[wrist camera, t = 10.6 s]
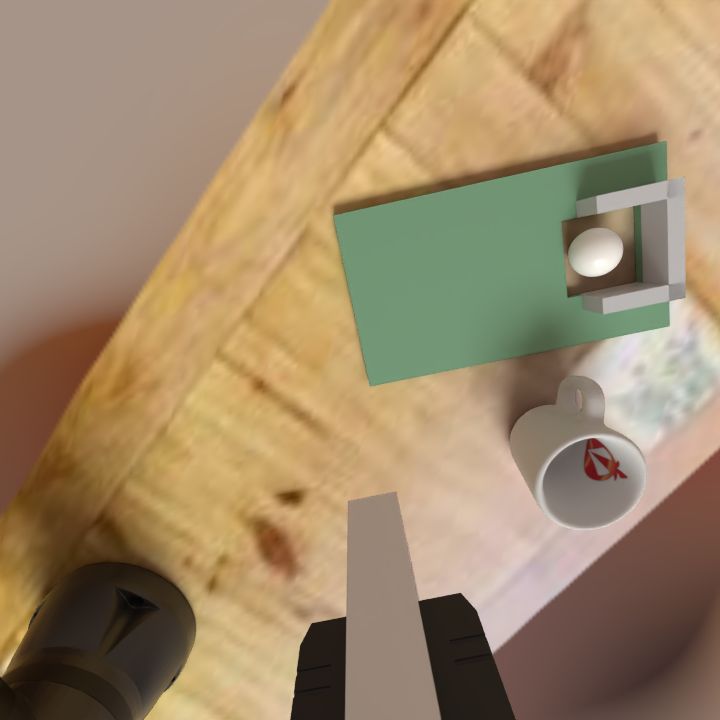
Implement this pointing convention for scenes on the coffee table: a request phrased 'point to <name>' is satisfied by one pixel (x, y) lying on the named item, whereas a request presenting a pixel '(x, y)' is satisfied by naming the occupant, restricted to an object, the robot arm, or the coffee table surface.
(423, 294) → the green mat
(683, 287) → the white u-shaped bracket
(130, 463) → the coffee table surface
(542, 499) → the cup
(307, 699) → the robot arm
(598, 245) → the ball
